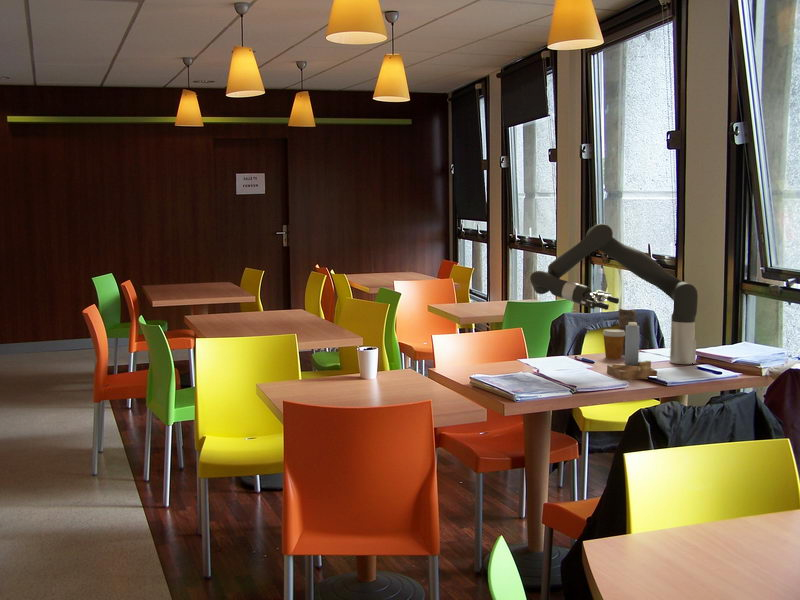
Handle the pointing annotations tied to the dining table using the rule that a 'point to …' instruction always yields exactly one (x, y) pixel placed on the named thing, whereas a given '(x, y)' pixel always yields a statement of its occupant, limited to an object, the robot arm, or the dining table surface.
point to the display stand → (632, 370)
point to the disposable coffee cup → (613, 343)
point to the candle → (626, 321)
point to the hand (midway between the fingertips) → (613, 304)
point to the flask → (632, 344)
